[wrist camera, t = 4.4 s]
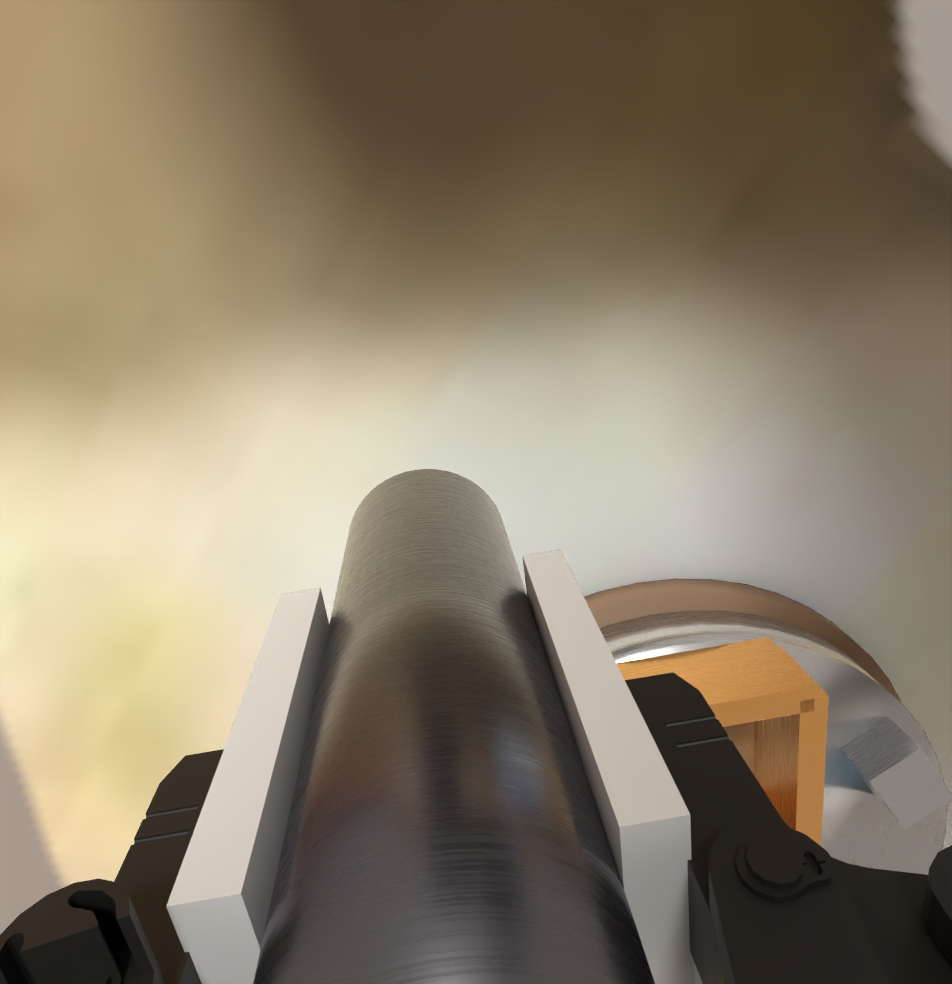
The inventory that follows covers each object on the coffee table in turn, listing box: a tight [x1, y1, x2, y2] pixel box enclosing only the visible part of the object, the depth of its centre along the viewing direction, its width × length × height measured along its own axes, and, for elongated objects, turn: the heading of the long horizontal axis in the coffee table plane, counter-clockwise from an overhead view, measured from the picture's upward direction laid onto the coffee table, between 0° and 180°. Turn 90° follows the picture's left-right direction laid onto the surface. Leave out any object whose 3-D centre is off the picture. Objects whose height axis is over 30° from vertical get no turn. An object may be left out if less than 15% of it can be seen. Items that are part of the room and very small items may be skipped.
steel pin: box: [253, 469, 655, 984], centre depth 10 cm, size 4×4×16 cm
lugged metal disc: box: [599, 610, 952, 984], centre depth 23 cm, size 19×19×4 cm
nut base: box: [584, 579, 901, 703], centre depth 26 cm, size 20×20×1 cm
